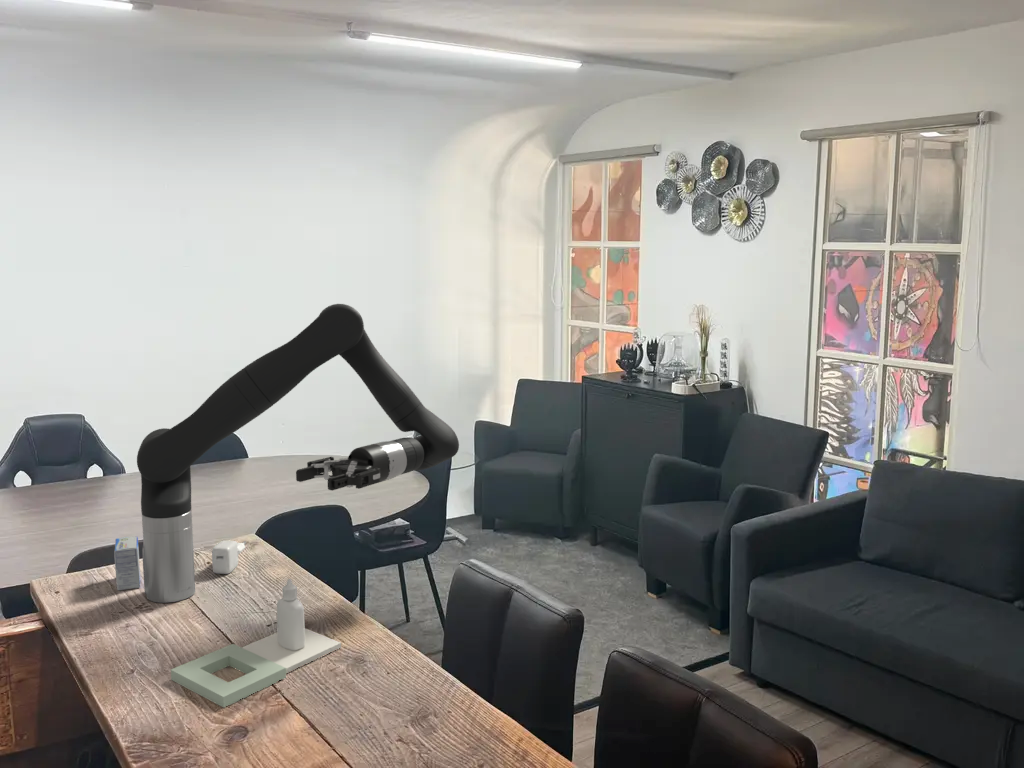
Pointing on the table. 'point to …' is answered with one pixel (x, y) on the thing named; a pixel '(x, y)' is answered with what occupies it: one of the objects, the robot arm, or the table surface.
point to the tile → (293, 658)
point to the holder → (227, 693)
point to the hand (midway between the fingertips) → (313, 480)
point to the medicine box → (127, 563)
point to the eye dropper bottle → (290, 619)
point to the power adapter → (226, 556)
